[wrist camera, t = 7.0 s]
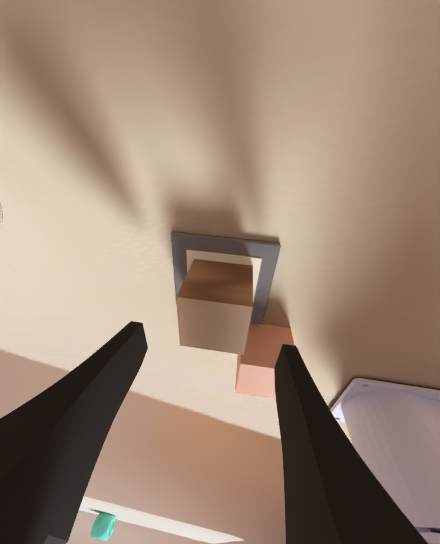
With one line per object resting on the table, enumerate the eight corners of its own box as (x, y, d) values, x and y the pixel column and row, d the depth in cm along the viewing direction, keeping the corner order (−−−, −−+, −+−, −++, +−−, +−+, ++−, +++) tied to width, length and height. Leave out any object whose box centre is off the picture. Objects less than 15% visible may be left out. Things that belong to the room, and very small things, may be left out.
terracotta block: (290, 327, 17) (299, 372, 14) (280, 355, 20) (286, 400, 16) (242, 320, 18) (240, 363, 14) (238, 349, 20) (235, 392, 17)
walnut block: (253, 265, 14) (252, 306, 11) (245, 309, 16) (243, 354, 13) (193, 258, 14) (176, 297, 11) (194, 302, 16) (180, 345, 13)
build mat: (280, 243, 13) (280, 246, 13) (261, 320, 17) (261, 324, 17) (173, 231, 14) (170, 234, 13) (179, 308, 18) (177, 312, 17)
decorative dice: (113, 514, 106) (103, 539, 99) (117, 517, 110) (109, 541, 103) (98, 511, 107) (88, 536, 100) (103, 514, 111) (94, 538, 104)
